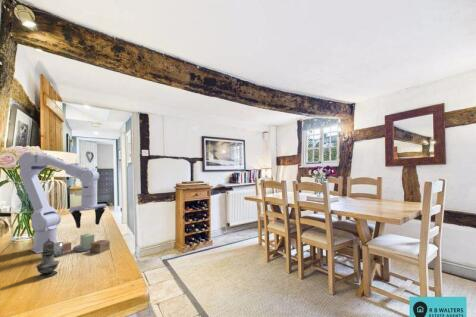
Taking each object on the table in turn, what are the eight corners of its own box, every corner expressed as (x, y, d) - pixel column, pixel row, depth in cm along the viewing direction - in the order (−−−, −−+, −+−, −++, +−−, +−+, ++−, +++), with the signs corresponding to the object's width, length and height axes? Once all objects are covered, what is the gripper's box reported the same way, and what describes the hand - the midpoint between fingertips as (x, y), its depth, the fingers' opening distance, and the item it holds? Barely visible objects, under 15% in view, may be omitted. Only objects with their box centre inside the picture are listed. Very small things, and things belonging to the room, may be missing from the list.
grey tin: (48, 256, 91) (49, 244, 92) (60, 253, 95) (61, 241, 95) (52, 258, 89) (52, 245, 89) (64, 255, 92) (64, 243, 93)
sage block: (80, 246, 100) (80, 235, 101) (89, 244, 103) (90, 233, 104) (83, 248, 98) (84, 236, 98) (93, 245, 101) (94, 234, 102)
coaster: (69, 249, 100) (69, 247, 100) (93, 243, 108) (93, 241, 108) (78, 253, 94) (78, 251, 94) (103, 247, 102) (103, 245, 102)
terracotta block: (50, 253, 96) (50, 244, 96) (67, 249, 101) (67, 241, 101) (54, 254, 93) (54, 246, 94) (71, 250, 99) (71, 242, 99)
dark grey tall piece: (45, 280, 71) (46, 241, 72) (30, 278, 72) (32, 240, 73) (63, 271, 77) (64, 236, 77) (49, 270, 78) (50, 235, 79)
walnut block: (90, 252, 96) (90, 243, 96) (100, 248, 100) (100, 239, 101) (99, 253, 94) (100, 244, 95) (109, 249, 99) (109, 240, 99)
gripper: (74, 198, 94) (72, 230, 94) (109, 195, 106) (108, 223, 105) (67, 197, 98) (66, 228, 98) (102, 194, 110) (101, 222, 109)
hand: (88, 225), depth 102 cm, fingers open, 7 cm apart
